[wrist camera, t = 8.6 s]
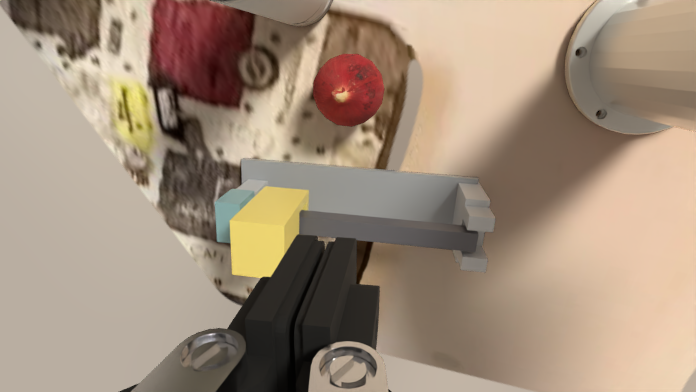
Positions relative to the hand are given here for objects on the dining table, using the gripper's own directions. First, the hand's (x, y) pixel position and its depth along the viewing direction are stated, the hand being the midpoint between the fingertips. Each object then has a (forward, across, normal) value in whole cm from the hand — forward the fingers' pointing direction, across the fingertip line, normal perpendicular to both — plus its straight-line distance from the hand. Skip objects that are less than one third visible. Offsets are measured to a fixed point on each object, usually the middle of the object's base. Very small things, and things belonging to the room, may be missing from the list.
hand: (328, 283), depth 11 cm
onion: (+28, +3, -3) cm, 29 cm away
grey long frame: (+28, +2, +8) cm, 29 cm away
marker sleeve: (+24, +8, +7) cm, 26 cm away
